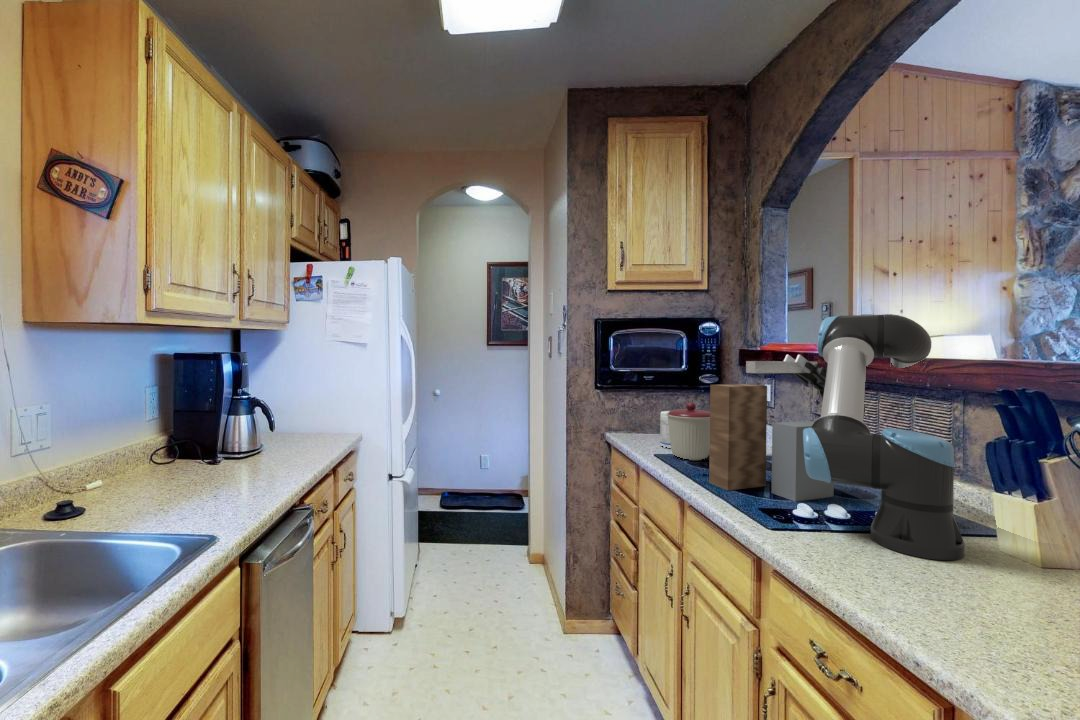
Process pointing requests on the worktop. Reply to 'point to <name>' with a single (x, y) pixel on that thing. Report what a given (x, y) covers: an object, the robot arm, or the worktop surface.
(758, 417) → the walnut column
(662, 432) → the supplement tub
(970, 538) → the worktop surface
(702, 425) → the canister
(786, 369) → the steel lever bar
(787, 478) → the gray rectangular block
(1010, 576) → the worktop surface
